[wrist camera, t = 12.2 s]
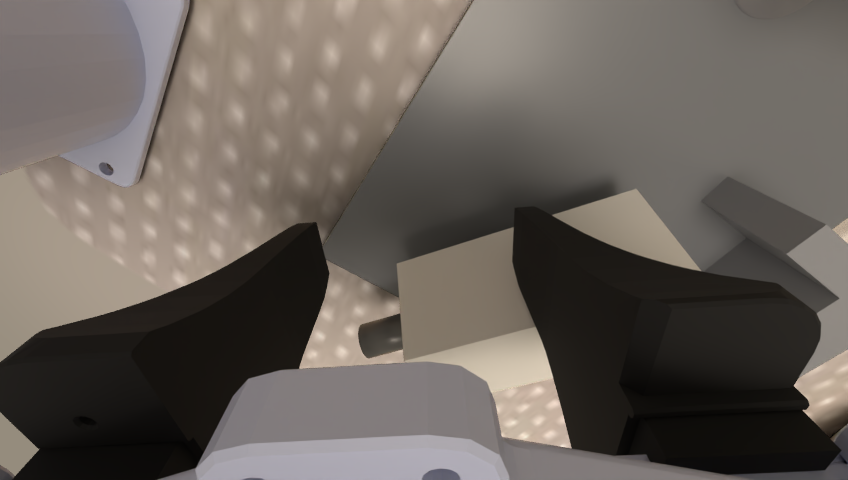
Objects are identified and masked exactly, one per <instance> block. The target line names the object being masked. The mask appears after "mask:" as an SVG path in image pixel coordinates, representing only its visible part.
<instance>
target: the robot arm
mask: <svg viewBox="0 0 848 480" xmlns="http://www.w3.org/2000/svg"><path fill="white" fill-rule="evenodd" d="M189 3H190V0H0V175H2V174H4V173H8V172H11V171H13V170H16V169H19V168H22V167H25V166H28V165H31V164H34V163H37V162H40V161H43V160H46V159H49V158H52V157H55V156H60V157H62V158H64V159H66V160H68V161H70V162H72V163H74V164H76V165H78V166H80V167H82V168H84V169H86V170H88V171H90V172H92V173H94V174H96V175H98V176H100V177H102V178H104V179H106V180H108V181H110V182H112V183H114V184H116V185H118V186H121V187H130V186H132V185H134V184H136V183H137V182H138V181H139V179H140V175H141V172H142V169H143V165H144V162H145V158H146V155H147V151H148V148H149V144H150V141H151V137H152V134H153V131H154V127H155V124H156V120H157V117H158V113H159V110H160V106H161V103H162V100H163V96H164V93H165V89H166V86H167V82H168V79H169V75H170V72H171V68H172V65H173V62H174V58H175V55H176V51H177V48H178V44H179V41H180V37H181V34H182V30H183V27H184V24H185V20H186V17H187V13H188V10H189ZM107 163H108V164H109V165H110V166H111V167H112V168H113V171H112V170H110V169H109V168H108V166H107ZM512 263H513V267H514V271H515V275H516V279H517V282H518V286H519V288H520V291H521V293H522V296H523V298H524V300H525V303H526V305H527V308H528V310H529V312H530V315H531V317H532V319H533V322H534V324H535V326H536V329H537V331H538V333H539V336H540V338H541V341H542V343H543V346H544V349H545V352H546V355H547V358H548V362H549V365H550V368H551V372H552V375H553V379H554V382H555V386H556V389H557V393H558V397H559V400H560V404H561V408H562V411H563V415H564V419H565V423H566V427H567V431H568V435H569V439H570V443H571V447H572V449H570V448H565V447H559V446H553V445H547V444H541V443H535V442H529V441H523V440H517V439H511V438H505V437H502V436H501V430H500V425H499V420H498V415H497V409H496V404H495V401H494V398H493V396H492V393H491V391H490V389H489V386H488V384H487V382H486V381H485V380H483V379H481V378H480V377H478V376H477V375H475V374H473V373H472V372H470V371H468V370H467V369H465V368H464V367H462V366H459V365H452V364H444V363H436V362H428V361H426V362H409V363H392V364H375V365H357V366H340V367H323V368H306V369H299V366H300V363H301V360H302V357H303V354H304V351H305V348H306V346H307V343H308V341H309V338H310V335H311V333H312V330H313V327H314V325H315V322H316V320H317V317H318V314H319V312H320V309H321V306H322V303H323V301H324V297H325V293H326V289H327V283H328V278H329V270H328V266H327V262H326V258H325V255H324V251H323V247H322V243H321V239H320V235H319V231H318V227H317V223H316V222H313V223H299V224H296V225H294V226H292V227H290V228H288V229H286V230H285V231H283V232H281V233H280V234H278V235H277V236H275V237H273V238H272V239H270V240H269V241H267V242H266V243H264V244H262V245H261V246H259V247H258V248H256V249H255V250H253V251H251V252H250V253H248V254H246V255H244V256H243V257H241V258H239V259H238V260H236V261H234V262H232V263H231V264H229V265H227V266H225V267H224V268H222V269H220V270H218V271H216V272H214V273H212V274H210V275H208V276H206V277H204V278H202V279H199V280H197V281H195V282H193V283H191V284H188V285H186V286H183V287H181V288H178V289H176V290H173V291H171V292H168V293H166V294H163V295H161V296H159V297H156V298H153V299H150V300H148V301H145V302H142V303H139V304H136V305H133V306H130V307H127V308H123V309H120V310H117V311H114V312H110V313H107V314H104V315H100V316H97V317H93V318H89V319H85V320H81V321H77V322H73V323H70V324H66V325H62V326H58V327H54V328H50V329H46V330H42V331H40V332H39V333H37V334H35V335H34V336H33V337H31V338H30V339H29V340H28V341H26V342H25V343H24V344H23V345H21V346H20V347H19V348H18V349H16V350H15V351H14V352H13V353H11V354H10V355H9V356H8V357H7V358H5V359H4V360H3V361H1V362H0V412H1V413H2V414H3V415H4V416H5V417H6V418H7V419H8V420H9V421H10V422H11V423H12V424H13V425H14V426H15V427H16V428H17V429H18V430H19V431H20V432H22V433H23V434H24V435H25V436H26V437H27V438H28V439H29V440H30V441H31V442H32V443H33V444H34V445H35V446H36V447H37V448H38V449H39V451H38V452H37V453H36V454H35V455H34V456H33V457H32V459H30V461H29V462H28V463H27V464H26V465H25V466H24V467H23V468H22V469H21V471H19V473H18V474H17V475H16V476H14V475H13V474H12V473H11V472H10V471H9V470H7V469H6V468H4V467H2V466H1V465H0V480H848V424H847V425H846V426H844V427H843V428H842V429H841V430H840V431H839V433H838V434H837V435H836V437H835V439H834V441H832V440H831V439H830V438H829V437H828V436H827V435H826V434H825V433H824V432H823V431H822V430H821V429H820V428H819V427H818V426H817V425H816V424H815V423H814V422H813V421H812V420H811V419H810V418H809V417H808V416H807V415H806V414H805V413H804V412H803V411H802V410H806V409H807V408H808V406H809V402H808V400H807V399H806V398H805V397H804V396H803V395H802V394H801V393H800V392H799V391H798V390H797V389H796V388H795V387H794V384H795V383H796V381H797V379H798V378H799V376H800V375H801V373H802V371H803V370H804V368H805V367H806V365H807V364H808V362H809V360H810V359H811V357H812V356H813V354H814V352H815V350H816V348H817V346H818V343H819V341H820V338H821V322H820V320H819V318H818V316H817V313H816V312H815V311H814V310H812V309H811V308H810V307H809V306H807V305H806V304H805V303H803V302H802V301H801V300H799V299H798V298H797V297H795V296H794V295H793V294H791V293H790V292H789V291H787V290H786V289H785V288H783V287H782V286H781V285H779V284H778V283H773V282H766V281H759V280H752V279H745V278H738V277H731V276H724V275H718V274H713V273H708V272H703V271H698V270H693V269H688V268H684V267H679V266H675V265H671V264H667V263H664V262H660V261H657V260H653V259H650V258H646V257H643V256H640V255H637V254H634V253H631V252H628V251H625V250H623V249H620V248H617V247H615V246H612V245H610V244H607V243H605V242H602V241H600V240H598V239H596V238H594V237H592V236H590V235H587V234H585V233H583V232H581V231H579V230H577V229H576V228H574V227H572V226H570V225H568V224H566V223H565V222H563V221H561V220H559V219H557V218H556V217H554V216H552V215H550V214H549V213H547V212H545V211H543V210H541V209H539V208H537V207H535V206H531V207H517V208H515V210H514V232H513V253H512Z"/></svg>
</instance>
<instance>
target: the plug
mask: <svg viewBox="0 0 848 480" xmlns="http://www.w3.org/2000/svg"><path fill="white" fill-rule="evenodd" d="M552 216H554V217H556V218H557V219H559V220H561V221H563V222H565V223H566V224H568V225H570V226H572V227H574V228H576V229H577V230H579V231H581V232H583V233H585V234H587V235H590V236H592V237H594V238H596V239H598V240H600V241H602V242H605V243H607V244H610V245H612V246H615V247H617V248H620V249H623V250H625V251H628V252H631V253H634V254H637V255H640V256H643V257H646V258H650V259H653V260H657V261H660V262H664V263H667V264H671V265H675V266H679V267H684V268H688V269H693V270H698V271H701V270H700V269H699V267H698V266H697V265H696V264H695V262H694V261H693V260H692V258H691V257H690V256H689V255H688V253H687V252H686V251H685V250H684V248H683V247H682V246H681V245H680V243H679V242H678V241H677V239H676V238H675V237H674V236H673V234H672V233H671V232H670V231H669V229H668V228H667V227H666V226H665V224H664V223H663V222H662V220H661V219H660V218H659V217H658V215H657V214H656V213H655V212H654V210H653V209H652V208H651V207H650V205H649V204H648V203H647V201H646V200H645V199H644V198H643V196H642V195H641V194H640V193H639V191H638V190H637V189H634V190H631V191H627V192H624V193H621V194H618V195H615V196H611V197H608V198H605V199H602V200H599V201H595V202H592V203H589V204H586V205H583V206H579V207H576V208H573V209H570V210H567V211H563V212H560V213H557V214H554V215H552ZM513 232H514V227H512V228H509V229H506V230H503V231H499V232H496V233H493V234H490V235H487V236H483V237H480V238H477V239H474V240H471V241H467V242H464V243H461V244H458V245H455V246H451V247H448V248H445V249H442V250H439V251H435V252H432V253H429V254H426V255H423V256H419V257H416V258H413V259H410V260H407V261H403V262H400V263H397V275H398V288H399V302H400V314H397V315H393V316H390V317H386V318H383V319H379V320H376V321H372V322H369V323H365V324H362V325H360V327H359V331H358V337H359V343H360V347H361V350H362V352H363V354H364V355H365V356H366V357H367V358H372V357H376V356H380V355H383V354H387V353H391V352H395V351H398V350H402V349H403V355H404V362H405V363H409V362H426V361H428V362H436V363H444V364H452V365H459V366H462V367H464V368H465V369H467V370H468V371H470V372H472V373H473V374H475V375H477V376H478V377H480V378H481V379H483V380H485V381H486V382H487V384H488V386H489V389H490V391H491V393H494V392H498V391H502V390H506V389H511V388H515V387H519V386H523V385H527V384H532V383H536V382H540V381H544V380H549V379H553V375H552V372H551V368H550V365H549V362H548V358H547V355H546V352H545V349H544V346H543V343H542V341H541V338H540V336H539V333H538V331H537V329H536V326H535V324H534V322H533V319H532V317H531V315H530V312H529V310H528V308H527V305H526V303H525V300H524V298H523V296H522V293H521V291H520V288H519V286H518V282H517V279H516V275H515V271H514V267H513V263H512V253H513Z"/></svg>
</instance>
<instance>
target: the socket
mask: <svg viewBox="0 0 848 480" xmlns="http://www.w3.org/2000/svg"><path fill="white" fill-rule="evenodd" d="M634 189H637V190H638V191H639V193H640V194H641V195H642V196H643V198H644V199H645V200H646V201H647V203H648V204H649V205H650V207H651V208H652V209H653V210H654V212H655V213H656V214H657V215H658V217H659V218H660V219H661V220H662V222H663V223H664V224H665V226H666V227H667V228H668V229H669V231H670V232H671V233H672V234H673V236H674V237H675V238H676V239H677V241H678V242H679V243H680V245H681V246H682V247H683V248H684V250H685V251H686V252H687V253H688V255H689V256H690V257H691V258H692V260H693V261H694V262H695V264H696V265H697V266H698V267H699V269H700V270H701V271H703V272H708V273H713V274H718V275H724V276H731V277H738V278H745V279H752V280H759V281H766V282H773V283H778V284H779V285H781V286H782V287H783V288H785V289H786V290H787V291H789V292H790V293H791V294H793V295H794V296H795V297H797V298H798V299H799V300H801V301H802V302H803V303H805V304H806V305H807V306H809V307H810V308H811V309H812V310H814V311H815V312H816V313H817V316H818V318H819V320H820V322H821V338H820V341H819V343H818V346H817V348H816V350H815V352H814V354H813V356H812V357H811V359H810V360H809V362H808V364H807V365H806V367H805V368H804V370H803V371H802V373H801V375H800V376H799V377H801V376H803V375H804V374H806V373H808V372H809V371H811V370H813V369H815V368H816V367H818V366H820V365H822V364H823V363H825V362H827V361H828V360H830V359H832V358H834V357H835V356H837V355H839V354H841V353H842V352H844V351H846V350H847V349H848V244H847V243H846V242H845V241H844V240H843V239H842V238H841V237H840V236H839V235H837V234H836V233H835V232H834V231H833V230H832V229H833V228H834V227H836V226H837V225H839V224H840V223H841V222H843V221H844V220H845V219H847V218H848V0H473V1H472V3H471V4H470V6H469V8H468V9H467V11H466V13H465V14H464V16H463V17H462V19H461V21H460V22H459V24H458V26H457V27H456V29H455V30H454V32H453V34H452V35H451V37H450V39H449V40H448V42H447V44H446V45H445V47H444V48H443V50H442V52H441V53H440V55H439V57H438V58H437V60H436V62H435V63H434V65H433V66H432V68H431V70H430V71H429V73H428V75H427V76H426V78H425V80H424V81H423V83H422V84H421V86H420V88H419V89H418V91H417V93H416V94H415V96H414V98H413V99H412V101H411V102H410V104H409V106H408V107H407V109H406V111H405V112H404V114H403V116H402V117H401V119H400V120H399V122H398V124H397V125H396V127H395V129H394V130H393V132H392V134H391V135H390V137H389V138H388V140H387V142H386V143H385V145H384V147H383V148H382V150H381V152H380V153H379V155H378V156H377V158H376V160H375V161H374V163H373V165H372V166H371V168H370V170H369V171H368V173H367V174H366V176H365V178H364V179H363V181H362V183H361V184H360V186H359V188H358V189H357V191H356V192H355V194H354V196H353V197H352V199H351V201H350V202H349V204H348V206H347V207H346V209H345V210H344V212H343V214H342V215H341V217H340V219H339V220H338V222H337V224H336V225H335V227H334V228H333V230H332V232H331V233H330V235H329V237H328V238H327V240H326V242H325V243H324V245H323V246H322V247H323V251H324V255H325V258H326V260H328V261H330V262H332V263H334V264H336V265H338V266H339V267H341V268H343V269H345V270H347V271H349V272H351V273H353V274H355V275H357V276H359V277H361V278H363V279H364V280H366V281H368V282H370V283H372V284H374V285H376V286H378V287H380V288H382V289H384V290H386V291H387V292H389V293H391V294H393V295H395V296H397V297H399V288H398V275H397V263H400V262H403V261H407V260H410V259H413V258H416V257H419V256H423V255H426V254H429V253H432V252H435V251H439V250H442V249H445V248H448V247H451V246H455V245H458V244H461V243H464V242H467V241H471V240H474V239H477V238H480V237H483V236H487V235H490V234H493V233H496V232H499V231H503V230H506V229H509V228H512V227H514V210H515V208H517V207H531V206H535V207H537V208H539V209H541V210H543V211H545V212H547V213H549V214H550V215H554V214H557V213H560V212H563V211H567V210H570V209H573V208H576V207H579V206H583V205H586V204H589V203H592V202H595V201H599V200H602V199H605V198H608V197H611V196H615V195H618V194H621V193H624V192H627V191H631V190H634Z"/></svg>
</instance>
